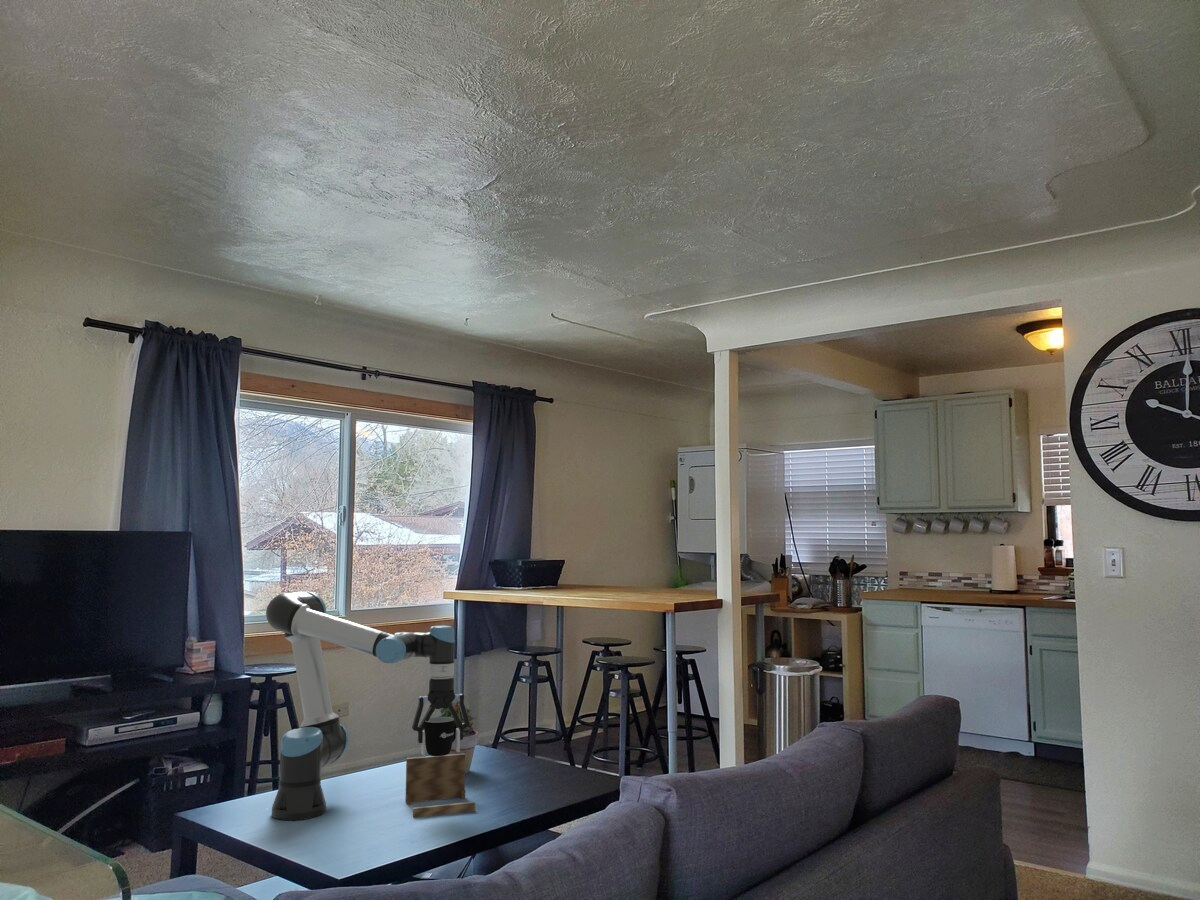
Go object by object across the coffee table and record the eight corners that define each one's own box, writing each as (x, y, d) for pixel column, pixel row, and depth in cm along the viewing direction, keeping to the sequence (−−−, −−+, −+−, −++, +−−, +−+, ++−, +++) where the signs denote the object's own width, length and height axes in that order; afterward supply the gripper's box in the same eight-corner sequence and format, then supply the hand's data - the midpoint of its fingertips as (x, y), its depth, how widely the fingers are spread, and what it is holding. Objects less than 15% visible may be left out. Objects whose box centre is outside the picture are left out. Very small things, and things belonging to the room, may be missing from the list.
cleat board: (413, 817, 252) (414, 770, 253) (405, 801, 268) (406, 758, 269) (474, 811, 258) (475, 765, 259) (463, 796, 274) (464, 753, 275)
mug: (438, 758, 257) (439, 723, 258) (417, 754, 262) (418, 720, 263) (466, 751, 267) (467, 717, 268) (445, 747, 272) (445, 714, 273)
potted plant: (461, 762, 318) (463, 692, 321) (490, 772, 303) (491, 699, 306) (417, 770, 306) (418, 697, 309) (445, 781, 292) (446, 704, 294)
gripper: (406, 680, 260) (404, 758, 257) (480, 676, 267) (479, 752, 265) (402, 677, 267) (401, 752, 264) (475, 673, 274) (474, 747, 272)
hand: (440, 752), depth 264 cm, fingers closed on mug, 10 cm apart
